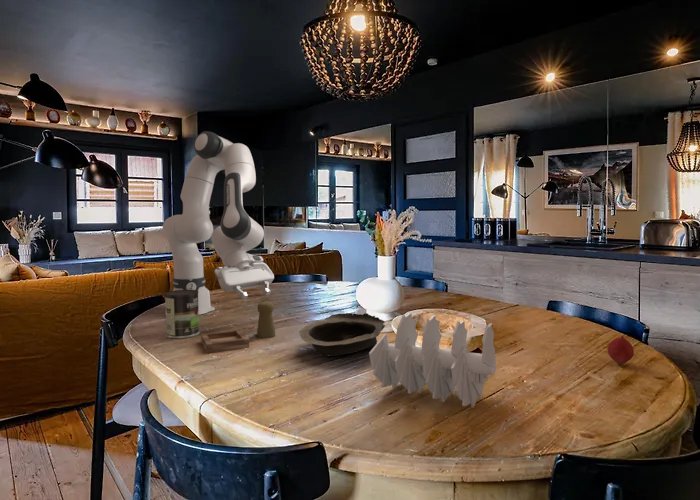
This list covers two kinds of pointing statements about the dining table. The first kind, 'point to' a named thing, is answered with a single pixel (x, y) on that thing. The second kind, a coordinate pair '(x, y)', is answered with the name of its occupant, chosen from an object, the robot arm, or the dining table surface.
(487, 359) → the spiral staircase
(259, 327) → the cork
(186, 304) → the coffee can
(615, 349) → the onion
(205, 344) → the walnut socket block
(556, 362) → the dining table surface
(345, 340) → the stone bowl
